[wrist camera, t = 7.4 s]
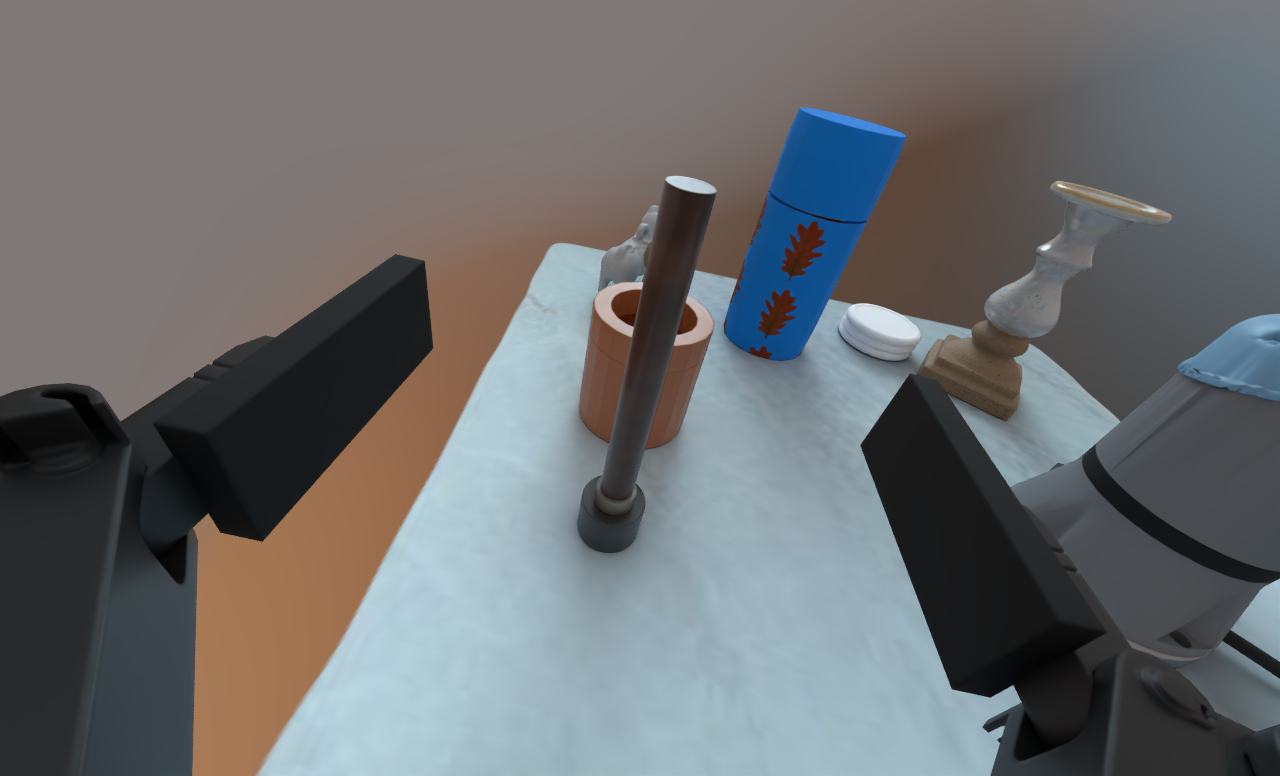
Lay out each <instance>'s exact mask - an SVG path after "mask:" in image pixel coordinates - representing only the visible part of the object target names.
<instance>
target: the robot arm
mask: <svg viewBox="0 0 1280 776" xmlns="http://www.w3.org/2000/svg"><path fill="white" fill-rule="evenodd" d="M432 349H433V341H432V331H431V320H430V310H429V300H428V290H427V280H426V270H425V261H423V260H418V259H414V258H409V257H405V256H401V255H397V254H395V255H394V256H392V257H391V258H389V259H388V260H386V261H385V262H384V263H382V264H381V265H379V266H378V267H376V268H375V269H373V270H372V271H371V272H369V273H368V274H366V275H365V276H363V277H362V278H360V279H359V280H358V281H356V282H355V283H353V284H352V285H350V286H349V287H348V288H346V289H345V290H343V291H342V292H340V293H339V294H337V295H336V296H335V297H333V298H332V299H330V300H329V301H327V302H326V303H324V304H323V305H322V306H320V307H319V308H317V309H316V310H314V311H313V312H311V313H310V314H309V315H307V316H306V317H304V318H303V319H301V320H300V321H299V322H297V323H296V324H294V325H293V326H291V327H290V328H288V329H287V330H286V331H284V332H283V333H281V334H280V335H278V336H277V337H276V338H274V337H269V336H263V337H260V338H257V339H255V340H252V341H249V342H247V343H244V344H241V345H238V346H236V347H234V348H233V349H231V350H230V351H228V352H226V353H225V354H224V355H222V356H220V357H219V358H217V359H216V360H214V361H213V364H212V365H209V364H208V365H207V366H205V367H203V368H202V369H200V370H199V371H198V372H196V373H194V377H193V378H191V377H188V378H187V379H185V380H184V381H182V382H181V383H179V384H178V385H176V386H174V387H173V388H171V389H170V390H168V391H167V392H165V393H164V394H162V395H161V396H159V397H158V398H156V399H155V400H153V401H152V402H150V403H148V404H147V405H146V406H144V407H142V408H141V409H139V410H138V411H136V412H135V413H133V414H132V415H130V416H129V417H127V418H126V419H124V420H122V421H121V422H120V421H119V419H118V418H117V416H116V415H115V413H114V412H113V410H112V409H111V407H110V406H109V404H108V403H107V401H106V400H105V398H104V397H103V396H102V394H101V393H100V392H99V391H97V390H95V389H93V388H91V387H90V386H85V385H78V384H70V383H66V384H50V385H42V386H36V387H32V388H27V389H22V390H18V391H14V392H11V393H9V394H6V395H3V396H1V397H0V776H192V762H193V761H192V760H193V721H194V679H195V637H196V596H197V594H196V593H197V554H198V540H197V537H196V534H195V531H194V530H193V527H194V526H195V525H196V524H197V523H198V522H199V521H200V520H202V518H204V517H205V516H206V515H207V514H208V513H209V515H210V516H211V518H212V519H213V521H214V523H215V524H216V526H217V528H218V529H219V531H220V532H221V533H225V534H229V535H234V536H239V537H243V538H248V539H253V540H257V541H262V542H263V540H264V539H265V538H266V537H267V536H268V535H269V534H270V533H271V531H272V530H273V529H274V528H275V527H276V525H278V523H279V522H280V521H281V520H282V519H283V518H284V517H285V516H286V514H287V513H288V512H289V511H290V510H291V509H292V508H293V506H294V505H295V504H296V503H297V502H298V501H299V500H300V499H301V497H302V496H303V495H304V494H305V493H306V492H307V491H308V490H309V488H310V487H311V486H312V485H313V484H314V483H315V482H316V480H317V479H318V478H319V477H320V476H321V474H323V472H324V471H325V470H326V469H327V468H328V467H329V466H330V465H331V463H332V462H333V461H334V460H335V459H336V458H337V457H338V456H339V454H340V453H341V452H342V451H343V450H344V449H345V448H346V446H347V445H348V444H349V443H350V442H351V441H352V440H353V438H354V437H355V436H356V435H357V434H358V433H359V432H360V431H361V429H362V428H363V427H364V426H365V425H366V424H367V423H368V422H369V420H370V419H371V418H372V417H373V416H374V415H375V414H376V412H377V411H378V410H379V409H380V408H381V407H382V406H383V405H384V403H385V402H386V401H387V400H388V399H389V398H390V397H391V396H392V394H393V393H394V392H395V391H396V390H397V389H398V388H399V386H400V385H401V384H402V383H403V382H404V381H405V380H406V378H407V377H408V376H409V375H410V374H411V373H412V372H413V371H414V369H415V368H416V367H417V366H418V365H419V364H420V363H421V362H422V360H423V359H424V358H425V357H426V356H427V355H428V354H429V352H430V351H431V350H432ZM1178 369H1179V371H1180V372H1178V373H1177V374H1176V375H1175V376H1174V377H1173V378H1171V379H1170V380H1169V381H1168V382H1167V383H1166V384H1164V385H1163V386H1162V387H1161V388H1160V389H1159V390H1158V391H1156V392H1155V393H1154V394H1153V395H1152V396H1151V397H1149V398H1148V399H1147V400H1146V401H1145V402H1144V403H1142V404H1141V405H1140V406H1139V407H1138V408H1137V409H1135V410H1134V411H1133V412H1132V413H1131V414H1130V415H1129V416H1127V417H1126V418H1125V419H1124V420H1123V421H1121V422H1120V423H1119V424H1118V425H1117V426H1116V427H1115V428H1113V429H1112V430H1111V431H1110V432H1109V433H1108V434H1106V435H1105V436H1104V437H1103V438H1102V439H1101V440H1099V441H1098V442H1097V443H1096V444H1095V445H1094V446H1093V447H1092V448H1091V449H1089V450H1088V451H1087V452H1086V453H1085V454H1084V455H1082V456H1081V457H1080V458H1079V459H1077V460H1075V461H1073V462H1071V463H1068V464H1066V465H1064V464H1061V463H1057V464H1056V465H1055V466H1054V467H1053V468H1052V469H1051V470H1050V471H1048V472H1046V473H1043V474H1041V475H1038V476H1036V477H1034V478H1031V479H1029V480H1026V481H1024V482H1021V483H1019V484H1016V485H1014V486H1012V487H1009V485H1008V484H1007V483H1006V481H1005V480H1004V478H1003V477H1002V475H1001V474H1000V472H999V471H998V469H997V468H996V466H995V465H994V463H993V462H992V460H991V459H990V457H989V456H988V454H987V453H986V451H985V450H984V448H983V447H982V445H981V444H980V442H979V441H978V439H977V438H976V436H975V435H974V433H973V432H972V430H971V429H970V427H969V426H968V425H967V423H966V422H965V420H964V419H963V417H962V416H961V414H960V413H959V411H958V410H957V408H956V407H955V405H954V404H953V402H952V401H951V399H950V398H949V396H948V395H947V393H946V392H945V390H944V389H943V387H942V386H941V384H940V383H939V381H938V380H936V379H931V378H927V377H923V376H918V375H914V374H909V376H908V377H907V379H906V380H905V382H904V383H903V384H902V386H901V387H900V389H899V390H898V392H897V393H896V395H895V396H894V397H893V399H892V400H891V402H890V403H889V405H888V406H887V408H886V409H885V410H884V412H883V413H882V415H881V416H880V418H879V419H878V421H877V422H876V423H875V425H874V426H873V428H872V429H871V431H870V432H869V434H868V435H867V436H866V438H865V439H864V441H863V442H862V444H861V445H860V446H861V448H862V451H863V454H864V456H865V459H866V462H867V464H868V467H869V470H870V472H871V475H872V478H873V480H874V483H875V486H876V488H877V491H878V494H879V496H880V499H881V502H882V504H883V507H884V510H885V512H886V515H887V518H888V520H889V523H890V526H891V528H892V531H893V534H894V536H895V539H896V542H897V544H898V547H899V550H900V552H901V555H902V558H903V560H904V563H905V566H906V568H907V571H908V574H909V576H910V579H911V582H912V584H913V587H914V590H915V592H916V595H917V598H918V600H919V603H920V606H921V608H922V611H923V614H924V616H925V619H926V622H927V624H928V627H929V630H930V632H931V635H932V638H933V640H934V643H935V646H936V648H937V651H938V654H939V656H940V659H941V662H942V664H943V667H944V670H945V672H946V675H947V678H948V680H949V683H950V686H951V688H952V689H953V690H957V691H962V692H967V693H971V694H976V695H981V696H985V697H990V698H991V697H992V696H994V695H996V694H998V693H1000V692H1001V691H1003V690H1005V689H1007V688H1009V687H1010V686H1012V685H1014V687H1015V689H1016V691H1017V693H1018V695H1019V698H1020V700H1021V702H1022V703H1020V704H1018V705H1016V706H1014V707H1012V708H1010V709H1009V710H1007V711H1005V712H1003V713H1001V714H999V715H997V716H995V717H993V718H991V719H989V720H988V721H987V722H986V723H985V724H984V726H983V728H984V729H985V730H986V731H987V732H990V731H992V730H994V729H997V728H999V727H1001V726H1005V729H1004V732H1003V736H1002V737H1001V738H999V739H998V740H997V741H998V742H1000V746H999V749H998V753H997V756H996V759H995V763H994V766H993V769H992V773H991V776H1280V724H1279V725H1276V726H1273V727H1269V728H1266V729H1263V730H1260V731H1257V732H1255V731H1253V730H1251V729H1249V728H1247V727H1245V726H1243V725H1241V724H1238V723H1236V722H1234V721H1232V720H1230V719H1228V718H1226V717H1224V716H1222V715H1220V714H1218V713H1216V712H1215V711H1214V710H1213V708H1212V707H1211V705H1210V704H1209V702H1208V701H1207V699H1206V698H1205V697H1204V696H1203V695H1202V694H1201V693H1200V692H1199V691H1198V690H1197V688H1196V687H1195V686H1194V685H1193V684H1192V683H1191V682H1190V681H1189V680H1188V679H1187V678H1185V677H1184V676H1183V675H1182V674H1180V673H1179V672H1178V671H1177V670H1175V669H1174V668H1178V667H1182V666H1185V665H1187V664H1189V663H1192V662H1194V661H1196V660H1198V659H1201V658H1203V657H1205V656H1207V655H1209V654H1210V653H1211V652H1213V651H1214V649H1215V648H1216V647H1217V646H1218V645H1219V644H1220V643H1221V641H1223V642H1225V643H1227V644H1228V645H1230V646H1231V647H1233V648H1234V649H1236V650H1237V651H1239V652H1240V653H1242V654H1243V655H1245V656H1246V657H1248V658H1249V659H1251V660H1252V661H1254V662H1256V663H1257V664H1259V665H1260V666H1262V667H1263V668H1265V669H1266V670H1268V671H1269V672H1271V673H1272V674H1274V675H1275V676H1277V677H1278V678H1280V662H1279V661H1277V660H1276V659H1274V658H1273V657H1271V656H1270V655H1268V654H1267V653H1265V652H1264V651H1262V650H1261V649H1259V648H1257V647H1256V646H1254V645H1253V644H1251V643H1250V642H1248V641H1247V640H1245V639H1244V638H1242V637H1240V636H1239V635H1237V634H1236V633H1234V632H1233V631H1231V630H1230V629H1231V628H1232V627H1233V625H1234V624H1235V623H1236V621H1237V620H1238V619H1239V617H1240V616H1241V615H1242V613H1243V612H1244V611H1245V610H1246V608H1247V607H1248V606H1249V604H1250V603H1251V602H1252V600H1253V599H1254V598H1255V596H1256V595H1257V594H1258V592H1259V591H1260V590H1261V589H1262V588H1263V587H1264V586H1266V585H1268V584H1270V583H1272V582H1274V581H1276V580H1278V579H1280V314H1271V315H1263V316H1258V317H1254V318H1250V319H1247V320H1245V321H1243V322H1240V323H1238V324H1236V325H1235V326H1233V327H1232V328H1230V329H1229V330H1228V331H1227V332H1225V333H1224V334H1223V335H1221V336H1220V337H1219V338H1218V339H1216V340H1215V341H1214V342H1213V343H1211V344H1210V345H1209V346H1208V347H1206V348H1205V349H1204V350H1202V351H1201V352H1200V353H1199V354H1198V355H1196V356H1195V357H1194V358H1190V359H1187V360H1185V361H1184V362H1182V364H1180V365H1179V367H1178Z"/></svg>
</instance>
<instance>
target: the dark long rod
mask: <svg viewBox="0 0 1280 776" xmlns="http://www.w3.org/2000/svg"><path fill="white" fill-rule="evenodd" d="M716 192H717V191H716V189H715V188H714V187H713V186H711V185H710V184H707V183H705V182H703V181H700V180H697V179H693V178H689V177H683V176H669V177H666V179H665V181H664V186H663V191H662V195H661V200H660V205H659V210H658V215H657V219H656V224H655V229H654V234H653V238H652V243H651V248H650V253H649V257H648V262H647V267H646V272H645V276H644V281H643V286H642V291H641V295H640V300H639V305H638V310H637V314H636V319H635V324H634V329H633V334H632V338H631V343H630V348H629V353H628V357H627V362H626V367H625V372H624V376H623V381H622V386H621V391H620V395H619V400H618V405H617V410H616V414H615V419H614V424H613V429H612V433H611V438H610V443H609V448H608V453H607V457H606V462H605V467H604V472H603V475H601V476H598V477H596V478H594V479H593V480H591V481H590V482H589V483H588V484H587V485H586V487H585V488H584V490H583V494H582V499H581V504H580V510H579V516H578V522H577V527H578V532H579V534H580V536H581V538H582V539H583V541H584V542H585V543H586V544H587V545H588V546H590V547H591V548H593V549H595V550H597V551H600V552H606V553H613V552H618V551H621V550H623V549H625V548H627V547H628V546H629V545H631V543H632V542H633V541H634V539H635V537H636V535H637V531H638V528H639V525H640V522H641V519H642V516H643V512H644V509H645V497H644V495H643V492H642V490H641V489H640V488H639V486H638V485H637V484H636V483H635V482H636V478H637V475H638V471H639V468H640V464H641V460H642V457H643V453H644V450H645V446H646V443H647V439H648V435H649V432H650V428H651V425H652V421H653V418H654V414H655V410H656V407H657V403H658V400H659V396H660V393H661V389H662V385H663V382H664V378H665V375H666V371H667V368H668V364H669V360H670V357H671V353H672V350H673V346H674V343H675V339H676V335H677V332H678V328H679V325H680V321H681V318H682V314H683V310H684V307H685V303H686V300H687V296H688V293H689V289H690V285H691V282H692V278H693V275H694V271H695V268H696V264H697V260H698V257H699V253H700V250H701V246H702V242H703V239H704V235H705V231H706V228H707V225H708V221H709V218H710V214H711V210H712V207H713V203H714V200H715V196H716Z"/></svg>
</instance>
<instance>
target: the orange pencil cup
mask: <svg viewBox="0 0 1280 776" xmlns="http://www.w3.org/2000/svg"><path fill="white" fill-rule="evenodd" d="M642 286H643V282H623V283H618V284H614V285H610V286H607V287H606V288H604V289H602V290H601V291H599V292H598V294H597V295H596V297H595V299H594V302H593V309H592V316H591V323H590V330H589V337H588V344H587V351H586V358H585V365H584V372H583V379H582V386H581V393H580V405H579V409H580V414H581V417H582V419H583V421H584V423H585V424H586V426H587V427H588V428H589V429H590V430H591V431H592V432H593V433H594V434H595V435H597V436H598V437H600V438H601V439H603V440H605V441H607V442H609V443H610V438H611V433H612V429H613V424H614V419H615V414H616V410H617V405H618V400H619V395H620V391H621V386H622V381H623V376H624V372H625V367H626V362H627V357H628V353H629V348H630V343H631V338H632V334H633V329H634V324H635V319H636V314H637V310H638V305H639V300H640V295H641V291H642ZM713 327H714V321H713V319H712V316H711V314H710V312H709V311H708V310H707V309H706V308H705V307H704V306H703V305H702V304H701V303H700V302H698V301H696V300H695V299H693V298H692V297H690V296H687V300H686V303H685V307H684V310H683V314H682V318H681V321H680V325H679V328H678V332H677V335H676V339H675V343H674V346H673V350H672V353H671V357H670V360H669V364H668V368H667V371H666V375H665V378H664V382H663V385H662V389H661V393H660V396H659V400H658V403H657V407H656V410H655V414H654V418H653V421H652V425H651V428H650V432H649V435H648V439H647V443H646V446H645V449H649V448H654V447H658V446H661V445H663V444H665V443H667V442H669V441H670V440H672V439H673V438H674V437H675V436H676V434H677V433H678V431H679V429H680V427H681V425H682V422H683V419H684V416H685V413H686V410H687V407H688V404H689V401H690V398H691V395H692V392H693V389H694V386H695V384H696V381H697V378H698V375H699V372H700V369H701V366H702V363H703V360H704V356H705V354H706V351H707V348H708V345H709V342H710V339H711V336H712V333H713Z"/></svg>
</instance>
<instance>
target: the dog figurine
mask: <svg viewBox="0 0 1280 776" xmlns="http://www.w3.org/2000/svg"><path fill="white" fill-rule="evenodd" d="M658 210H659V207H658V206H655V205H653V206H652V207H650V208H649V210H648V212H647V214H646V215H645V216H644V218H643V220H642V222H641V224H640V225H639V227H638V230H637V233H636V234H635V235H634V236H633V238H631V239H628V240H627V241H626V242H625V243H623V244H622V245H620V246H618V247H613V248H611V249H609V250H608V252H607V253H606V254H605V255H604V257H603V259H602V262H601V274H600V282H599V290H598V292H599V291H601V290H602V289H604V288H606V287H607V285H608V284H609V282H610V281H613V282H614V283H615V284H618V283H623V282H634V281H635V280H636V278H637V277H638V276H641V275H644V274H645V271H646V267H645V265H644V258H643V257H644V252H645V250H646V248H647V245H648V244H649V243H650V242H652V238H653V234H654V229H655V224H656V219H657V215H658Z"/></svg>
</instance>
